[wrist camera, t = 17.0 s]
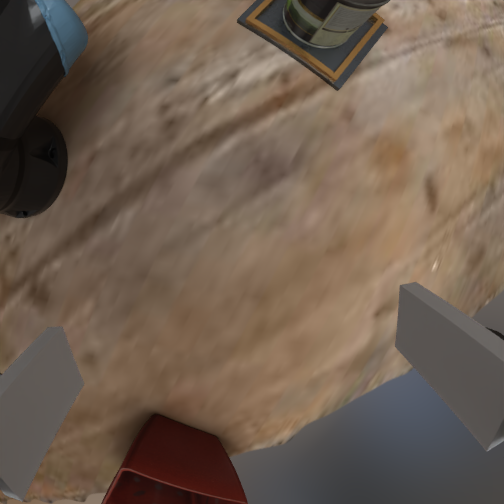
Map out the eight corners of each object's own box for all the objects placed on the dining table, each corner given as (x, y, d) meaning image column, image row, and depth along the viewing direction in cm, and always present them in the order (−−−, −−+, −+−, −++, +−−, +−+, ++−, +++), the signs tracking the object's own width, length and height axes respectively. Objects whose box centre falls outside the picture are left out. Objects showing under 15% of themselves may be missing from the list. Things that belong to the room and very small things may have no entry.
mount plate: (237, 22, 35) (237, 15, 33) (295, -33, 33) (298, -40, 31) (337, 90, 39) (342, 87, 36) (385, 29, 36) (391, 24, 34)
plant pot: (244, 431, 51) (251, 505, 35) (201, 480, 54) (199, 543, 38) (144, 392, 47) (122, 466, 31) (116, 449, 51) (97, 511, 34)
